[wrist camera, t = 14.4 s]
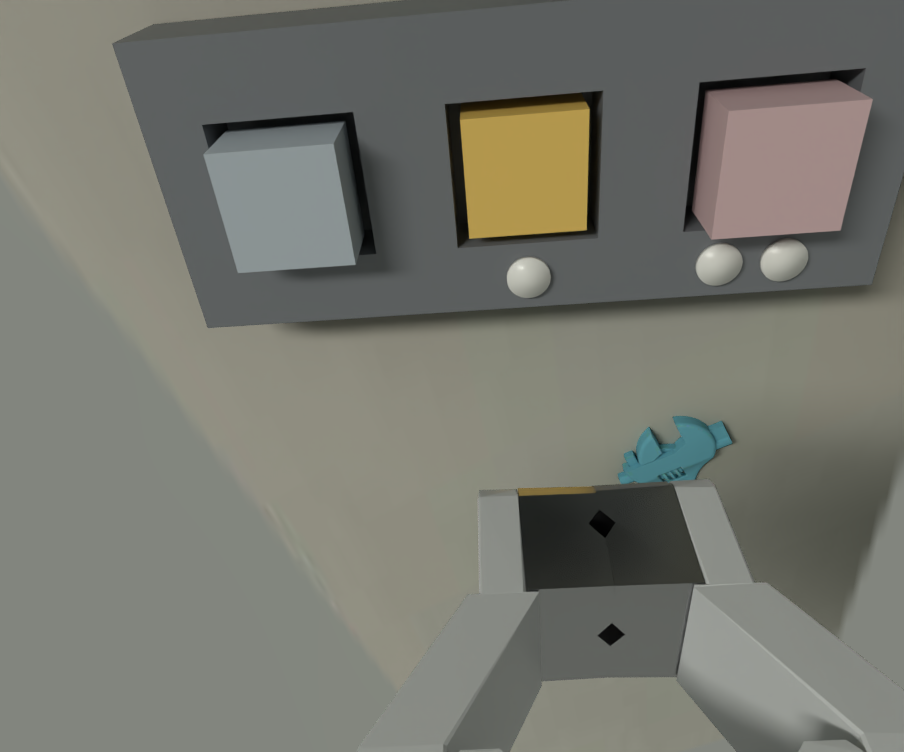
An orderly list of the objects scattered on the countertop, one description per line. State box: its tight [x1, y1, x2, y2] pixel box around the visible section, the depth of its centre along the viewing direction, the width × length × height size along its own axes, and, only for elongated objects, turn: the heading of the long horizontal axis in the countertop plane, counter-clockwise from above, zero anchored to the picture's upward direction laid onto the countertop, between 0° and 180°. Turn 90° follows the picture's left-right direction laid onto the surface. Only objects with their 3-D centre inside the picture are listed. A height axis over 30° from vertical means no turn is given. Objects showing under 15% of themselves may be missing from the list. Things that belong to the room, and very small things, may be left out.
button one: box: [460, 93, 590, 239], centre depth 22 cm, size 4×4×2 cm
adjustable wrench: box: [618, 416, 733, 484], centre depth 34 cm, size 14×1×5 cm
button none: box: [203, 121, 365, 273], centre depth 21 cm, size 4×4×2 cm
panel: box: [112, 0, 904, 328], centre depth 22 cm, size 22×9×3 cm, turn 95°
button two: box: [692, 79, 873, 240], centre depth 20 cm, size 4×4×2 cm
